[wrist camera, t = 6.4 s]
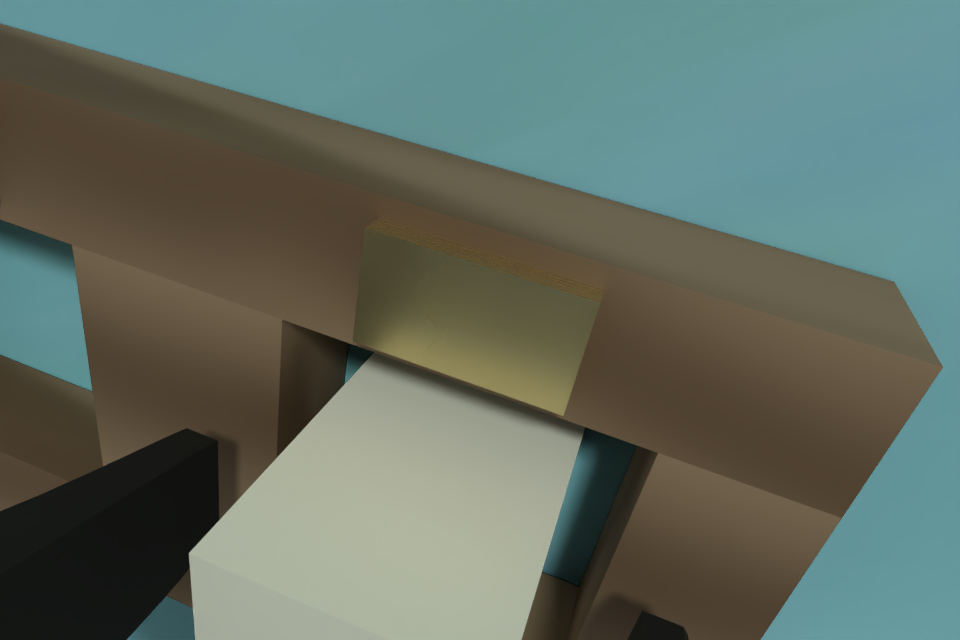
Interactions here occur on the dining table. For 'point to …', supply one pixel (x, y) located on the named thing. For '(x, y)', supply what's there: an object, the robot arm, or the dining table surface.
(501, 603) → the plug
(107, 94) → the socket board
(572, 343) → the brass tag
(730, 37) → the dining table surface
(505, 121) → the dining table surface
